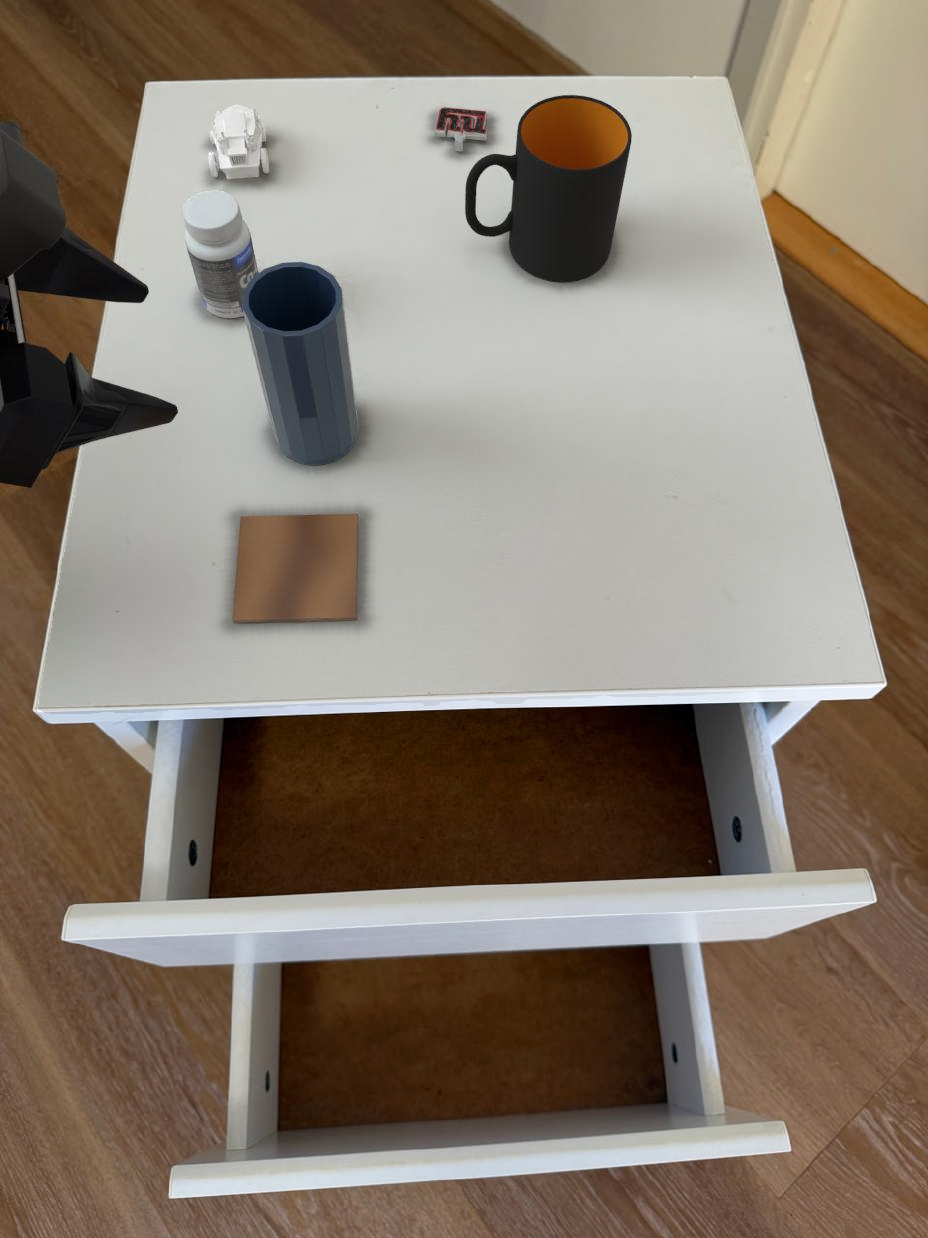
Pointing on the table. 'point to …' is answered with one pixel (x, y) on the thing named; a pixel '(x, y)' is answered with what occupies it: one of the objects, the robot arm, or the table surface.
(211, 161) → the toy car
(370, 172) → the table surface
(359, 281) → the table surface
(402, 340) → the table surface
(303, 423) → the cup
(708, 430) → the table surface
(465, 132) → the pendant
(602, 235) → the mug
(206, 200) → the pill bottle
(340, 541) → the cork coaster
